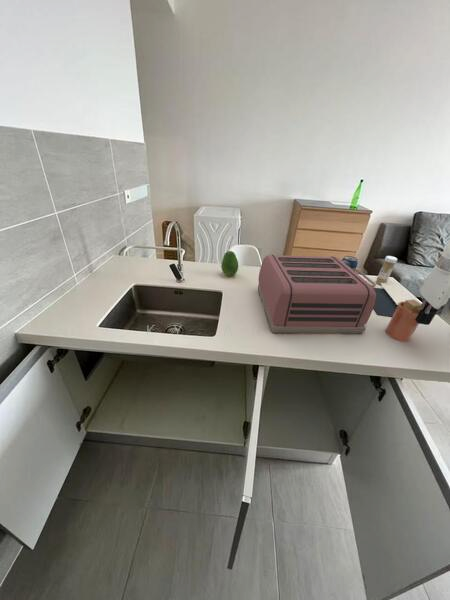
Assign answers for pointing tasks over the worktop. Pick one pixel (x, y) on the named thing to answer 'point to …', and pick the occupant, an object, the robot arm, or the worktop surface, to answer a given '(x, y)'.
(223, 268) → the fruit
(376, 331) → the worktop surface
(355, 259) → the soda can
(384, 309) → the mat
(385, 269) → the sprinkles bottle
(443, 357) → the worktop surface
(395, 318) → the tumbler
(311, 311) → the toaster
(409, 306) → the block
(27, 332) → the worktop surface
